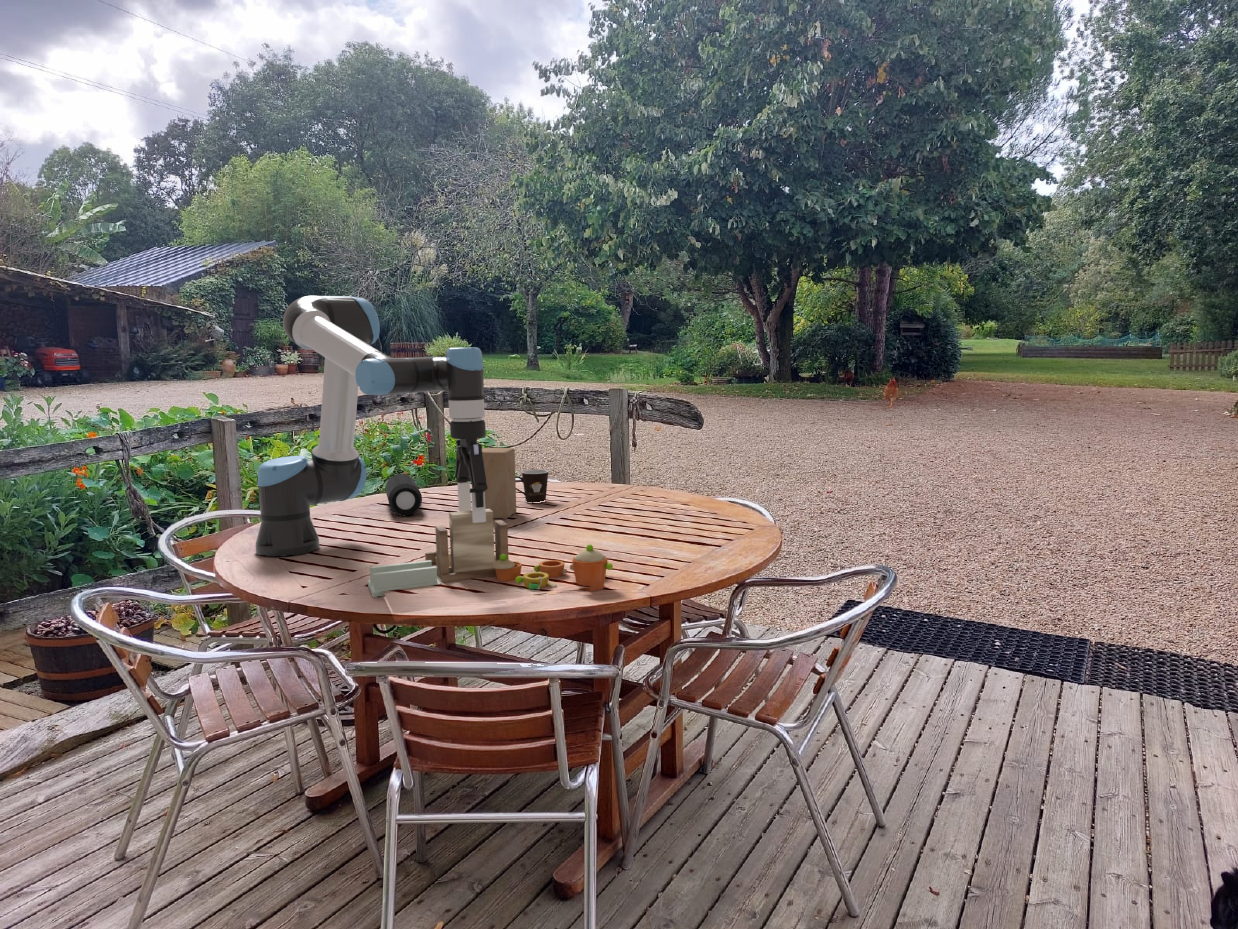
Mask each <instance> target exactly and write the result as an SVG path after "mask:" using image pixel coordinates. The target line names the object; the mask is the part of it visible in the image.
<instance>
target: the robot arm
mask: <svg viewBox="0 0 1238 929" xmlns="http://www.w3.org/2000/svg"><path fill="white" fill-rule="evenodd" d="M282 325H283V329H284V333H285V334H286V336H287V337H288V338H289V340H291V341H292V342H293V343H294V344H295V345H296V346H298V347H299V348H302V349H303V350H307V351H314V352H315V353H317V354H319V355H321V356H322V357H323V358H324V366H323V368H324V370H323V380H322V381H323V382H322V395H321V396H322V397H321V406H320V407H321V410H320V425H319V436H318V439H319V440H318V444H317V445H315V447H313V448H312V450H311V459H307V457H306V456H303V455H290V456H282V457H277V458H274V459H273V458H272V459H270V460H267V461H265V462H262V463H261V464H260V465H259V467H258V469H257V482H256V483H257V487H258V497H259V511H260V512H259V513H260V526H259V530H258V533H257V538H256V541H255V554H256V555H257V556H258V555H259V556H261V555H266V556H265V557H269V556H281V557H285V556H284V555H293V556H299V555H303V554H307V553H312V552H314V551H317V550H318V549H319V548H320V538H319V535H318V533H317V530H316V528H315V526H314V523H313V521H312V518H311V510H310V509H311V506H313V505H314V506H316V505H320V504H327V503H334V502H343V501H346V500H349V499H353V498H356V497H358V495H360V494H361V493H362V491H363V490H364V488H365V486H366V483H367V477H368V476H367V469H366V464H365V461H364V460H363V458H362V457H360V456H359V455H360V454H359V451H358V450H357V449H356V448H355V446H354V444H355V432H356V423H357V422H356V421H357V410H358V408H357V406H358V396H359V390H360V392H361V393H362V394H364V395H369V396H380V397H381V396H387V395H396V394H397V395H398V394H409V393H410V394H411V393H429V392H447V393H448V414H449V416H448V417H449V419H451V421H450V422H449V434H450V437H451V439H453V440H456V441H455V443H456V450H455V453H456V454H455V466H454V468H455V469H454V470H455V471H454V478H455V479H456V482H457V497H458V498H457V500H458V501H457V502H458V503H457V504H458V512H460V511H471V510H472V519H473V523H479V522H486V509H485V490H487V488H488V486H487V482H486V475H485V469H484V462H483V456H482V449H483V446H482V444H481V443H480V444H478V441H477V440H478V439H483V438H485V437H486V436H487V431H486V421H485V420H484V419H483V418H485V416H486V415H485V414H486V412H485V410H486V409H485V408H487V407H488V404H487V403H486V402H485V387H484V386H485V385H484V382H485V381H484V379H485V378H484V362H483V352H482V350H481V349H480V348H479V347H477V346H476V347H475V346H474V347H472V346H471V347H467V346H466V347H449V348H447V349H446V356H423V357H422V356H421V357H420V356H419V357H392V356H389V355H388V354H385V353H384V352H382V351H379V350H378V349H377V348H375V347H373V346H371V345H373V344H374V343H375V344H376V342H377V340H378V339H379V337H380V331H381V330H380V328H381V325H380V319H379V315H378V312H377V311H376V309H375V307H374V305H373V304H372V303H371V302H370V301H369V300H367V299H366V298H363V297H358V296H357V297H356V296H349V295H347V296H346V295H344V296H343V295H336V296H335V295H306V296H302V297H300V298H297V299H295V300H294V301H292V302H291V303H290V304H289V305H288V307H287V308H286V309H285V311H284V313H283V318H282ZM311 551H312V552H311Z"/></svg>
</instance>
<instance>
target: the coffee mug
mask: <svg viewBox="0 0 1238 929" xmlns="http://www.w3.org/2000/svg"><path fill="white" fill-rule="evenodd" d="M521 476H522V477H521ZM521 476H519V475H515V479H519V480H520V481H521V482H522V485H523V490H524V491H522V490H520V489H519V488H517V487H516V492H517V491H518V492H519V493H520V494H523V495H524V498H525V502H526V501H527V502H540V501H544V500H547V490H548V480H549V479H548V478H549V470H546V469H528V470H527V469H526V470H523V471H521Z"/></svg>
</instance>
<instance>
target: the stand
mask: <svg viewBox="0 0 1238 929" xmlns="http://www.w3.org/2000/svg"><path fill="white" fill-rule="evenodd" d="M369 573H370V575H369V577H370V578H369V579H367V582H366V583H367V586H368V590H369V591H370V593H372V594H371V596H372V597H375V598H378V597H377V596H383V597H386V595H385V592H386V591H388V592H389V591H397V590H404V589H412V588H419V587H427V586H436V585H442V582H439V580H438V579H437V568H436V566H433V567H432V561H431V560H427V561H425V560H421V561H420V560H418V561H412V562H411V561H410V562H402V563H392V564H384V565H383V564H381V565H377V566H369Z"/></svg>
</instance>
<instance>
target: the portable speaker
mask: <svg viewBox="0 0 1238 929" xmlns="http://www.w3.org/2000/svg"><path fill="white" fill-rule="evenodd" d="M384 490H385V495H386V496H387V498H386V499H387V502H388V505H389V508H390V509H391V511H392V512H393V513H394V514H396V515H399V516H401V517H409V516H411V515H414V514H415V513H416V512H418V511H419V509H420V508H421V506H422V502H423V495H422V492H421V491H420V489H419V487H418V485H417V483H416V481H415V480H414V478H413V477H411V476H410V475H409V474H406V473H396V474H394V475H392V476H390V478H388V480H387V481H386V483H385V488H384Z"/></svg>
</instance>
